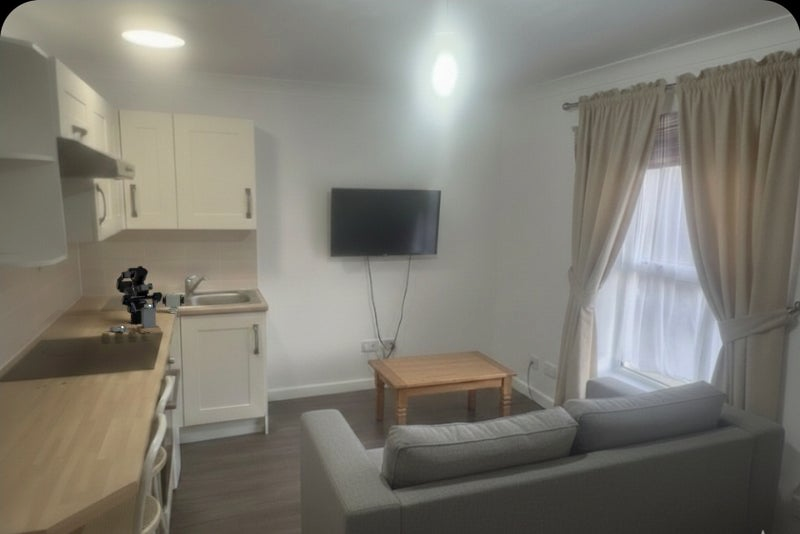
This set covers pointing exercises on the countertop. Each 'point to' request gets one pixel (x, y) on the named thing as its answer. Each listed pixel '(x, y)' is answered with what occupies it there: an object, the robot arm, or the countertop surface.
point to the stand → (149, 329)
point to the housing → (148, 316)
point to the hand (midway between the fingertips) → (145, 311)
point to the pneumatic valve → (173, 302)
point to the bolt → (118, 329)
